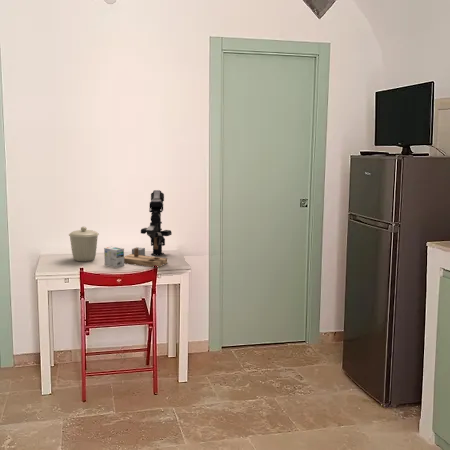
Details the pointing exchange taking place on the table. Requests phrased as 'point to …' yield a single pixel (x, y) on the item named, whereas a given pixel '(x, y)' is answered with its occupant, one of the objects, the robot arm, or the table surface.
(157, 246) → the pin
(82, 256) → the canister
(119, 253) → the light bulb box
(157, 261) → the board
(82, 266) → the table surface
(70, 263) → the table surface
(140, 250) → the grey cube
